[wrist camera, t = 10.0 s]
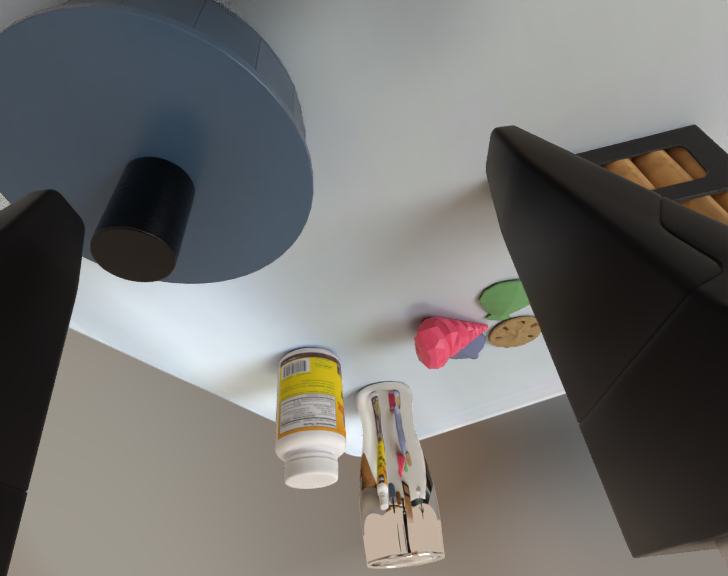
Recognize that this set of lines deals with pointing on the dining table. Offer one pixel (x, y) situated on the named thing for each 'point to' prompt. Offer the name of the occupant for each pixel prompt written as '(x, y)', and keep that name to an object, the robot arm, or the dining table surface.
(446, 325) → the toy pieces
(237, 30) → the pot
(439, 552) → the clear pen holder cup
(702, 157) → the ammunition clip
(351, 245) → the dining table surface
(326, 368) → the supplement bottle
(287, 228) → the pot lid
